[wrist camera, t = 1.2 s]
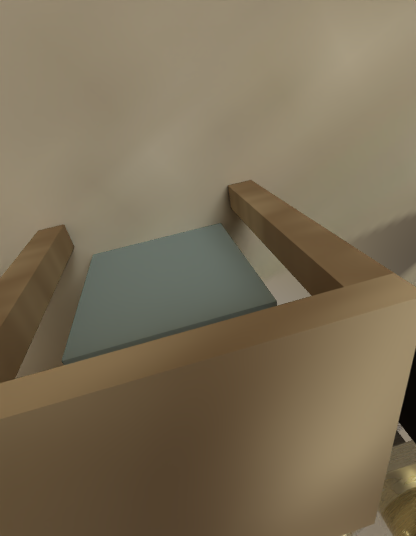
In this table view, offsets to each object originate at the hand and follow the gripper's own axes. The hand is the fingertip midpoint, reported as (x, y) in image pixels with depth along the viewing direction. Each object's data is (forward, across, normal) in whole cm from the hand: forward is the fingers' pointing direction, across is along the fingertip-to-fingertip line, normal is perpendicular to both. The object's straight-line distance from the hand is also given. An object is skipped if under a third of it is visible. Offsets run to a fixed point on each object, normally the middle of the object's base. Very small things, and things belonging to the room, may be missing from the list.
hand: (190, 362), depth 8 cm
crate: (+4, 0, 0) cm, 4 cm away
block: (+4, 0, 0) cm, 4 cm away
